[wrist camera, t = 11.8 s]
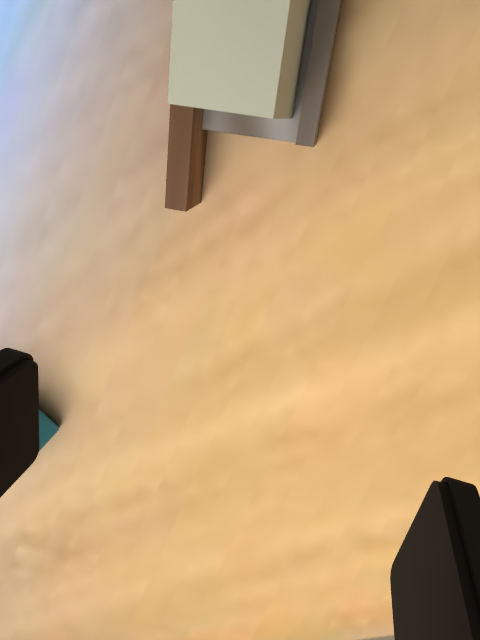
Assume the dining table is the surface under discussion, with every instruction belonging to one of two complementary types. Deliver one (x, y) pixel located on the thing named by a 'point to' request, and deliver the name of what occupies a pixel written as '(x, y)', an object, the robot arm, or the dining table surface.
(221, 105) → the slotted sage box
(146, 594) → the dining table surface
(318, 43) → the board
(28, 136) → the dining table surface
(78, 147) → the dining table surface
